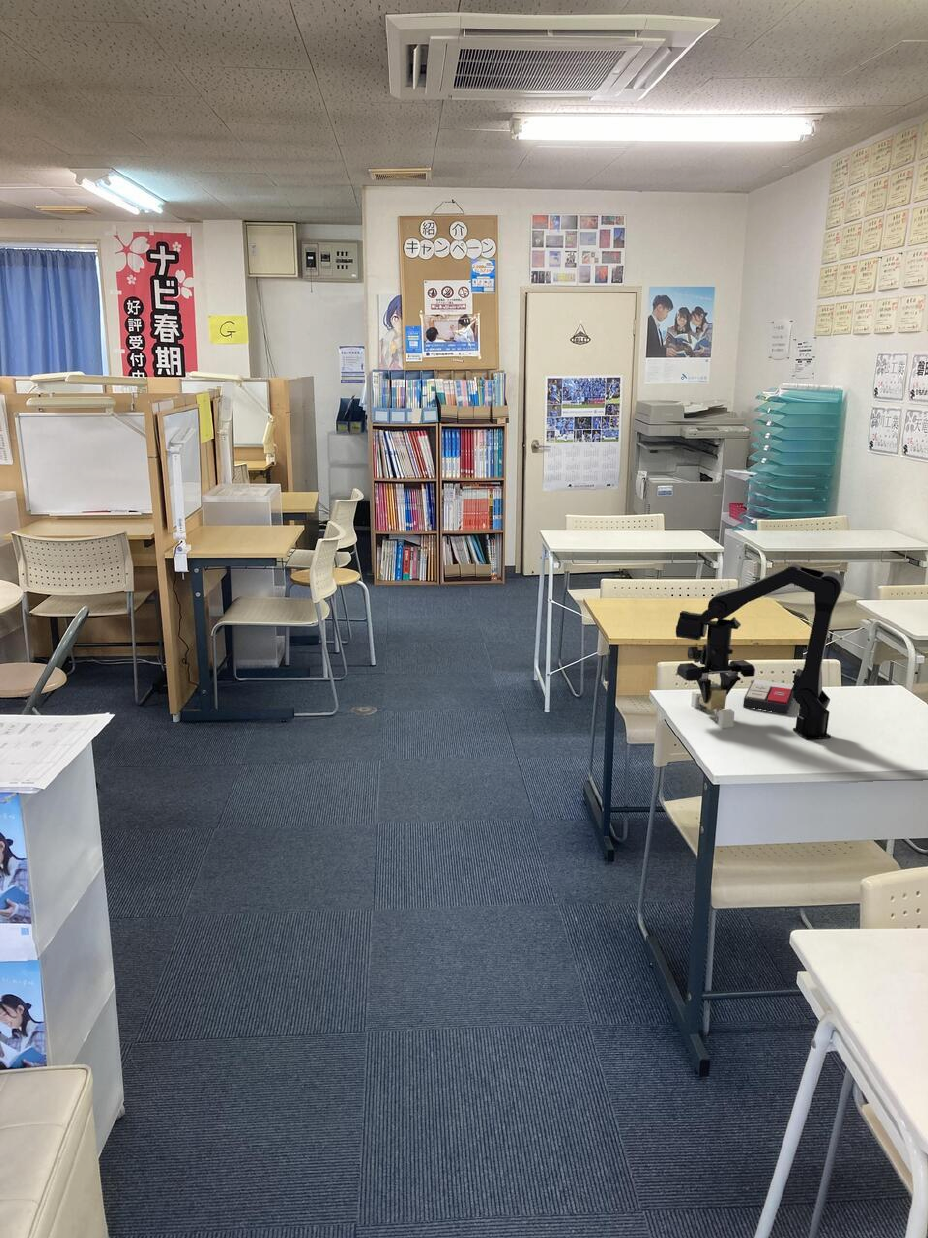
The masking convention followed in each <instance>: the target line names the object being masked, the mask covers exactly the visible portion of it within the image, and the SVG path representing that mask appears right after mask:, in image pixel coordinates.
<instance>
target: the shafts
mask: <svg viewBox="0 0 928 1238" xmlns="http://www.w3.org/2000/svg"><path fill="white" fill-rule="evenodd" d="M697 702H698V703H699V704H700V705H698V708H697V710H698V709H699V710H698V711H700V710H702V711H707V710H708V708H707V707H705V706H704V705H702V704H701V696H699V697H698V698H697ZM719 710H724V709H721V708H719V709H717V710H714V711H715V712H714V714H715V716H716V720H715V723H716V724H718V719H719Z"/></svg>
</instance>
